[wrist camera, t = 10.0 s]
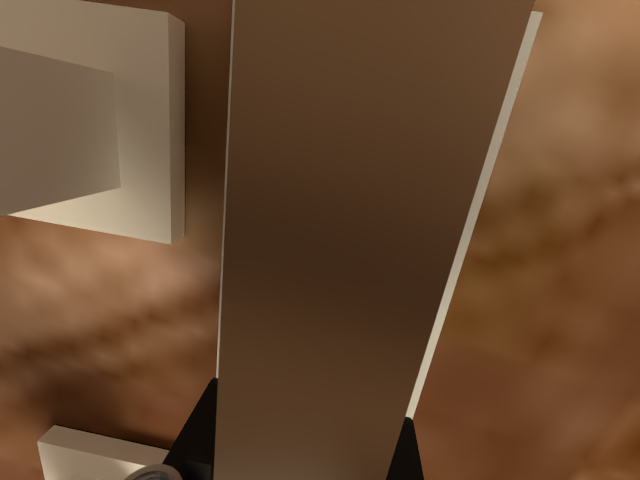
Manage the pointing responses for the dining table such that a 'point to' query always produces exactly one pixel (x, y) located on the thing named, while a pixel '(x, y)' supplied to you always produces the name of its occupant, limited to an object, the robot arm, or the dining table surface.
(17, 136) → the toy blocks
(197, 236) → the dining table surface
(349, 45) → the rail
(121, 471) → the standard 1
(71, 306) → the dining table surface
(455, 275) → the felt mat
